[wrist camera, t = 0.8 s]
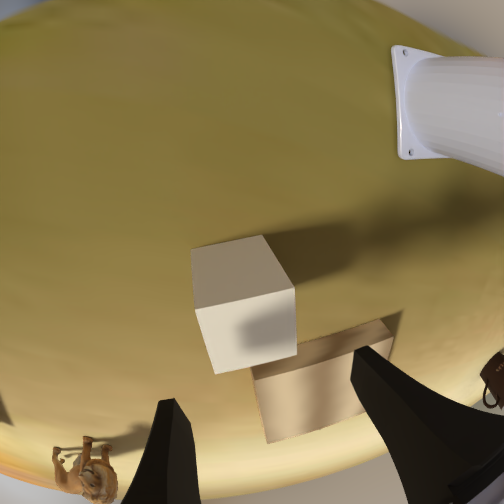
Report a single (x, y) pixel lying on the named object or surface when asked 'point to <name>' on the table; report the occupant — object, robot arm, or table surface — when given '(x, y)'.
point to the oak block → (314, 382)
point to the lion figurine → (88, 475)
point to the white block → (243, 304)
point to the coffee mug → (494, 379)
